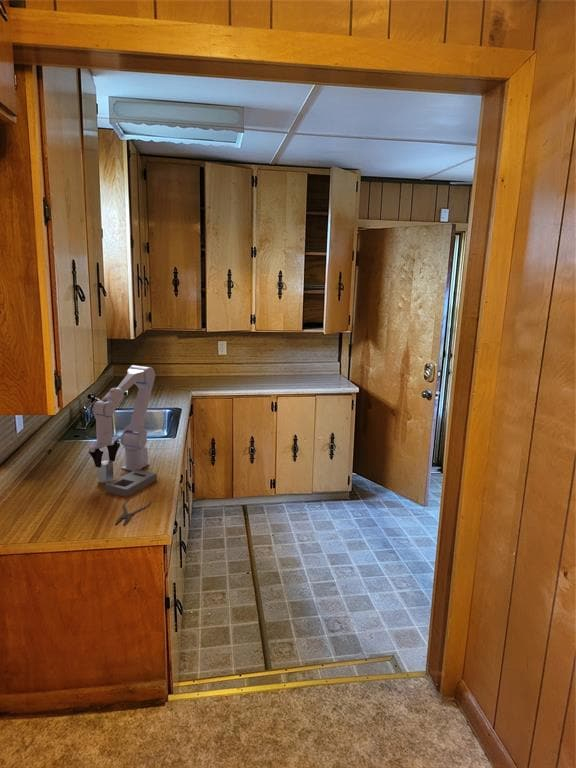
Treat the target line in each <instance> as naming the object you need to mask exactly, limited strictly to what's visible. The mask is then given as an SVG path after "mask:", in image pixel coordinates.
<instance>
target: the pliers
mask: <svg viewBox="0 0 576 768" xmlns="http://www.w3.org/2000/svg"><path fill="white" fill-rule="evenodd" d="M130 500H131V499H130V498H128V499H127V500H125V501H124V502H123V504H122V509H123V513H122V514H121V515H120V516H119V517H118V518H117V520H116V521H115V525H114V526H117V525H118V524H119V523H120V522H122V520H124V521H123V524H122V526H123V527H124V526H126V525H128V523H129V521H131V519H132V517H133V516H134V515H135V514H138V513H139V512H141V511H143V510H145V509H147V508H148V507H150V506H151V504H152V503H153V501H152V500H151V499H150V501H149V503H148V504H146V505H145V506H143V507H140V508H139V509H137V510H134V511H133V512H131V513H130V512H129V513H128V509H127V508H126V504H127V503H129V501H130ZM146 507H147V508H146Z"/></svg>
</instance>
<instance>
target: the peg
mask: <svg viewBox="0 0 576 768" xmlns="http://www.w3.org/2000/svg"><path fill="white" fill-rule="evenodd" d="M97 477H98V478H97V479H98V481H97V482H98V483H99V484H104V485H106V484H107V483H109V482H112V481H114V480H115V478H114V462H113V461H110V460H107V459H105V460H102V461H101V467H100V468H98V467H97Z"/></svg>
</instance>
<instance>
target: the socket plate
mask: <svg viewBox="0 0 576 768" xmlns="http://www.w3.org/2000/svg"><path fill="white" fill-rule="evenodd" d="M157 477H158V474H157V472H154V471H153V472H152V471H147V470H142V469H140V470H139V469H136V470H134V471H130V472H128V473H126V474H124V475H121V476H120V477H118V478H116V479H114V481H112V482H110V483H108V484H104V487H105V493H108V494H112V495H117V496H120V497H124V498H128V497H130V496H132V495H134V494H135V493H137V492H139V491H140V489H141V490H142V489H144V488H146V487H147V485H148V484H149V485H151V484H153V483H155V482H156V481H158V478H157ZM155 480H156V481H155ZM154 481H155V482H154ZM152 482H153V483H152ZM150 483H151V484H150ZM149 485H148V486H149ZM145 486H146V487H145ZM143 487H144V488H143ZM138 490H139V491H138ZM133 493H134V494H133Z"/></svg>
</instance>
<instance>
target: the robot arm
mask: <svg viewBox="0 0 576 768" xmlns="http://www.w3.org/2000/svg"><path fill="white" fill-rule="evenodd" d="M155 378H156V372H155V370H154V368H153V367H151V366H142V365H135V364H132V365H130V367H129V368H128V369H127V371H126V375H125V377H124V378H123V379H122V380H121V382H120V383H119V385H117V387H112V388H110V389H109V391H108V392H107V393H106V394H105V395H104V396H103V397H102V399H101V400H97V401H95V402H94V403H93V405H92V408H91V412H92V414H93V415H94V419H95V425H96V428H95V429H96V442H94V443H93V444H92V445H90V446H88V454H89V455H90V456H91V458H92V460H93V462H94V465H95V468H97V469H98V468H100V467H101V462H102V461H103V460H102V458H103V455H104V451H103V450H100V449H103V448H105V447H107V453H108V461H112V462H113V463H114V462H116V461H115V460H116V456H117V453H118V451H119V449H120V447H121V445H122V446H123V448H124V459H125V460H124V461H125V465H123V466H121V467H120V469H121V470H127V471H130V472H132V471H134V470H136V469H139V470H142V469H143V467H144V468H146V467H148V466H149V465H150V463H149V461H148V459H149V457H148V456H149V453H148V452H149V451H148V448H147V447H146V445H147V441H148V439H147V435H148V432H147V429H145V428H144V424H145V419H146V416H147V410H148V406H149V403H150V398H151V394H152V389H153V387H154V384H155V383H154V382H155ZM133 385H136V387H137V388H138V389H137V390H138V391H137V395H136V398H135V403H134V406H133V410H132V414H131V415H132V416H131V420H130V423H129V424H128V425H126V426H125V427H124V428H123V431H122V433H121V435H120V436H113V422H112V421H113V420H112V418H113V417H112V416H113V415H114V414H115V411H116V408H117V405H118V404H119V403H120V402H121V401H122V400H123V399H124V397H125V392H126V391H128V389H130V388H131V387H132V386H133ZM147 465H148V466H147ZM145 466H146V467H145Z"/></svg>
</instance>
